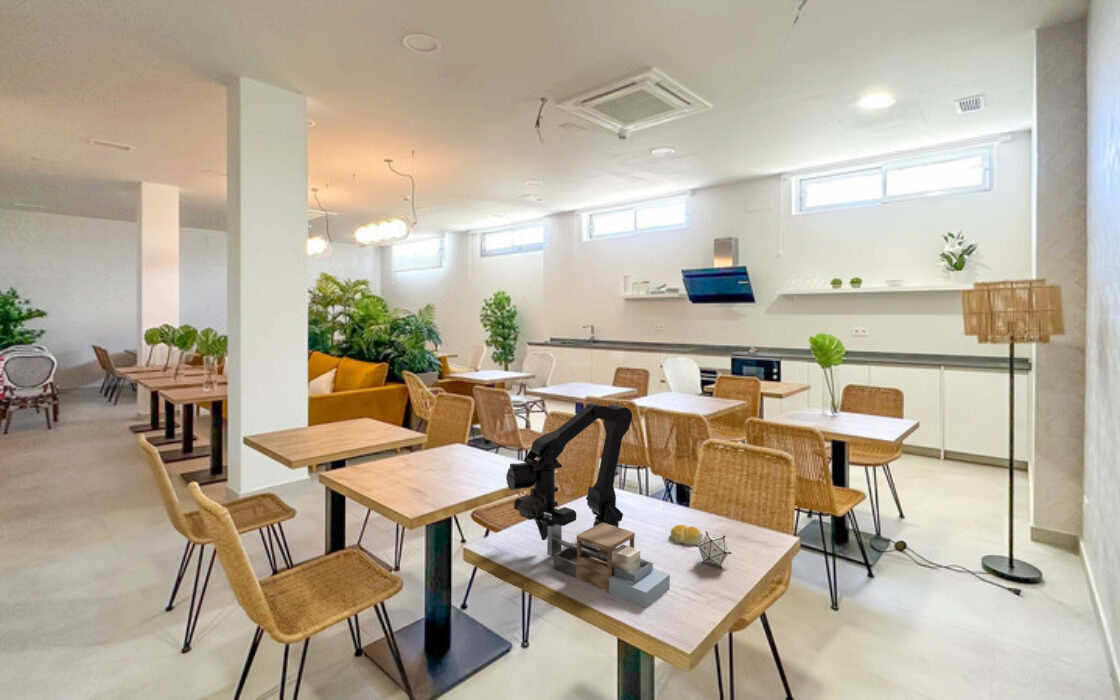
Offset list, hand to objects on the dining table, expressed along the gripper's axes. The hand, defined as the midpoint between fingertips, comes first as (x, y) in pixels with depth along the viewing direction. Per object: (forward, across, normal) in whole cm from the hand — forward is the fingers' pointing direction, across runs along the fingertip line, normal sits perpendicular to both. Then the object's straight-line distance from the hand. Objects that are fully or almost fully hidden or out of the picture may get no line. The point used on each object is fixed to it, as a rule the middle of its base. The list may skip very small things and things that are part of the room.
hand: (544, 539), depth 143 cm
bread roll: (+4, +26, +34) cm, 43 cm away
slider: (+2, +18, 0) cm, 18 cm away
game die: (+4, +38, +25) cm, 46 cm away
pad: (+3, +31, 0) cm, 31 cm away
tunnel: (+3, +17, 0) cm, 17 cm away
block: (0, +27, 0) cm, 27 cm away
